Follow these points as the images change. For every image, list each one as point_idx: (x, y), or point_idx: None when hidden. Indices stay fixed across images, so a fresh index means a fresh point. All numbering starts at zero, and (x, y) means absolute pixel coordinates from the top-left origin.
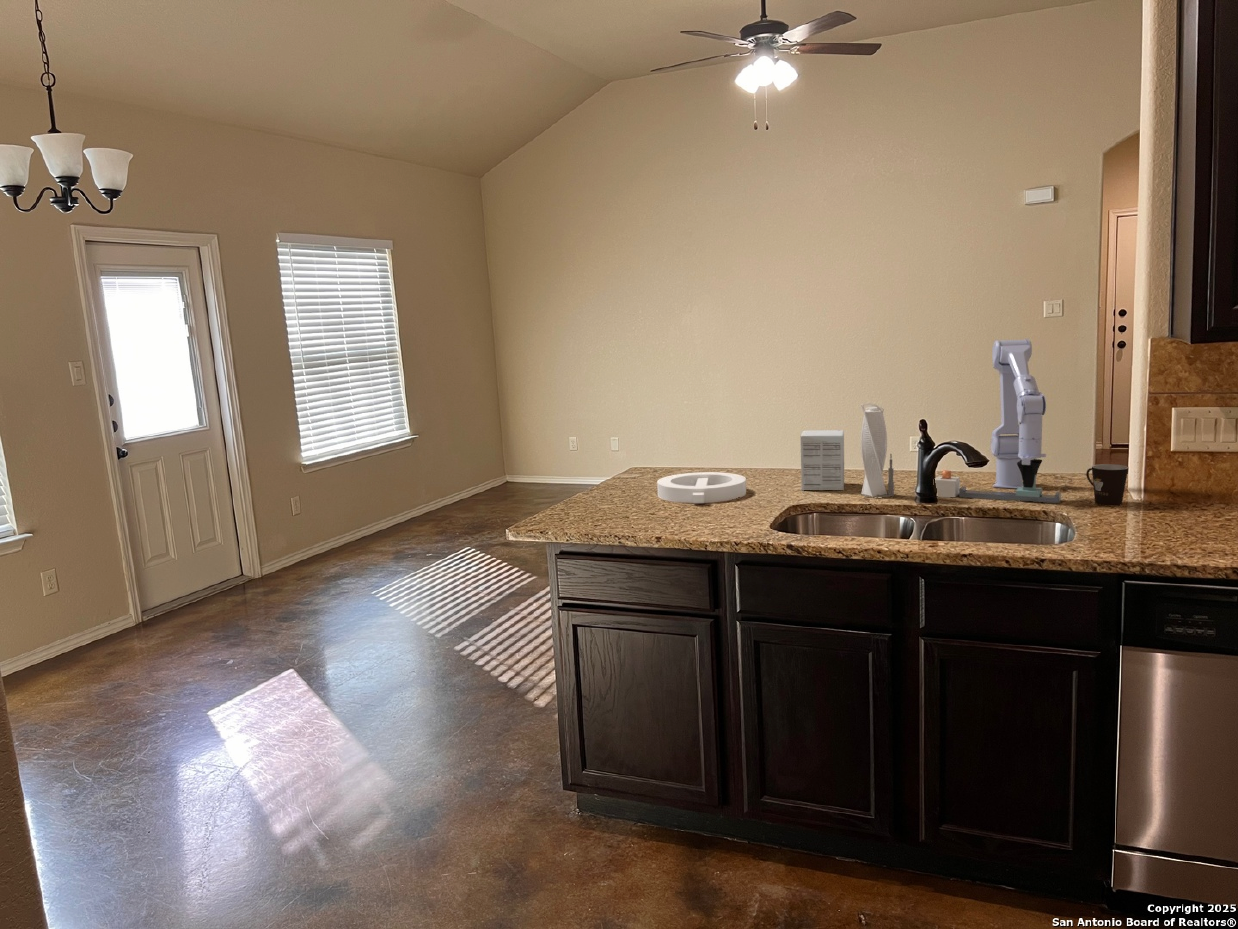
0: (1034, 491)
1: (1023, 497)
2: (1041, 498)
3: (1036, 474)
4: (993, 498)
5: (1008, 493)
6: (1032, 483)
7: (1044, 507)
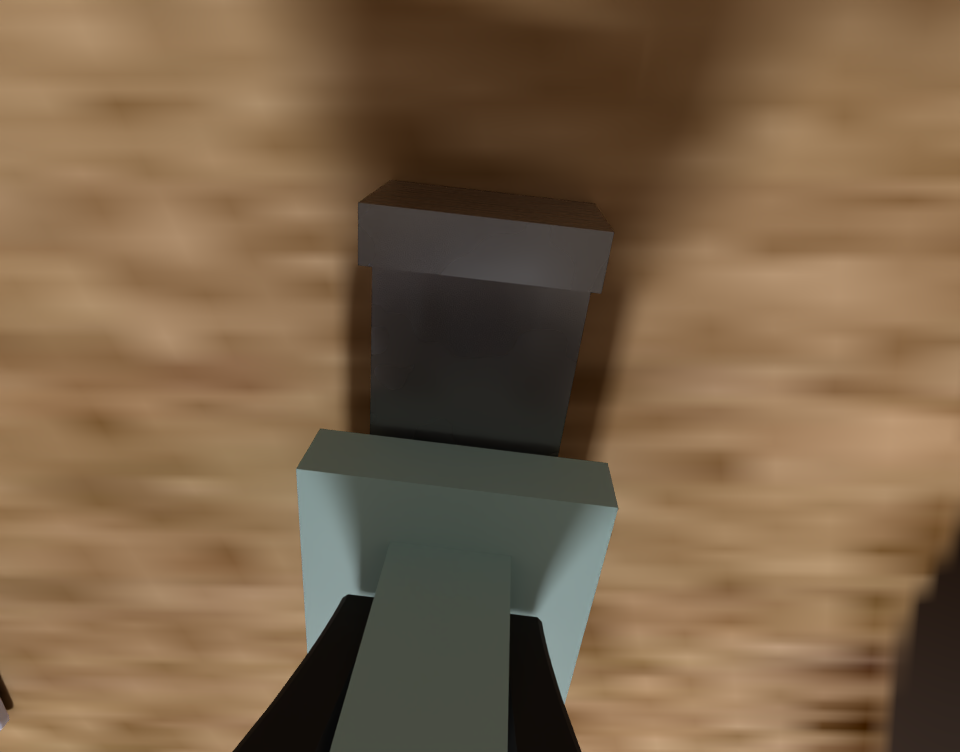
0: (574, 555)
1: None
2: (562, 424)
3: (284, 750)
4: None
5: None
6: (549, 674)
7: (838, 368)
